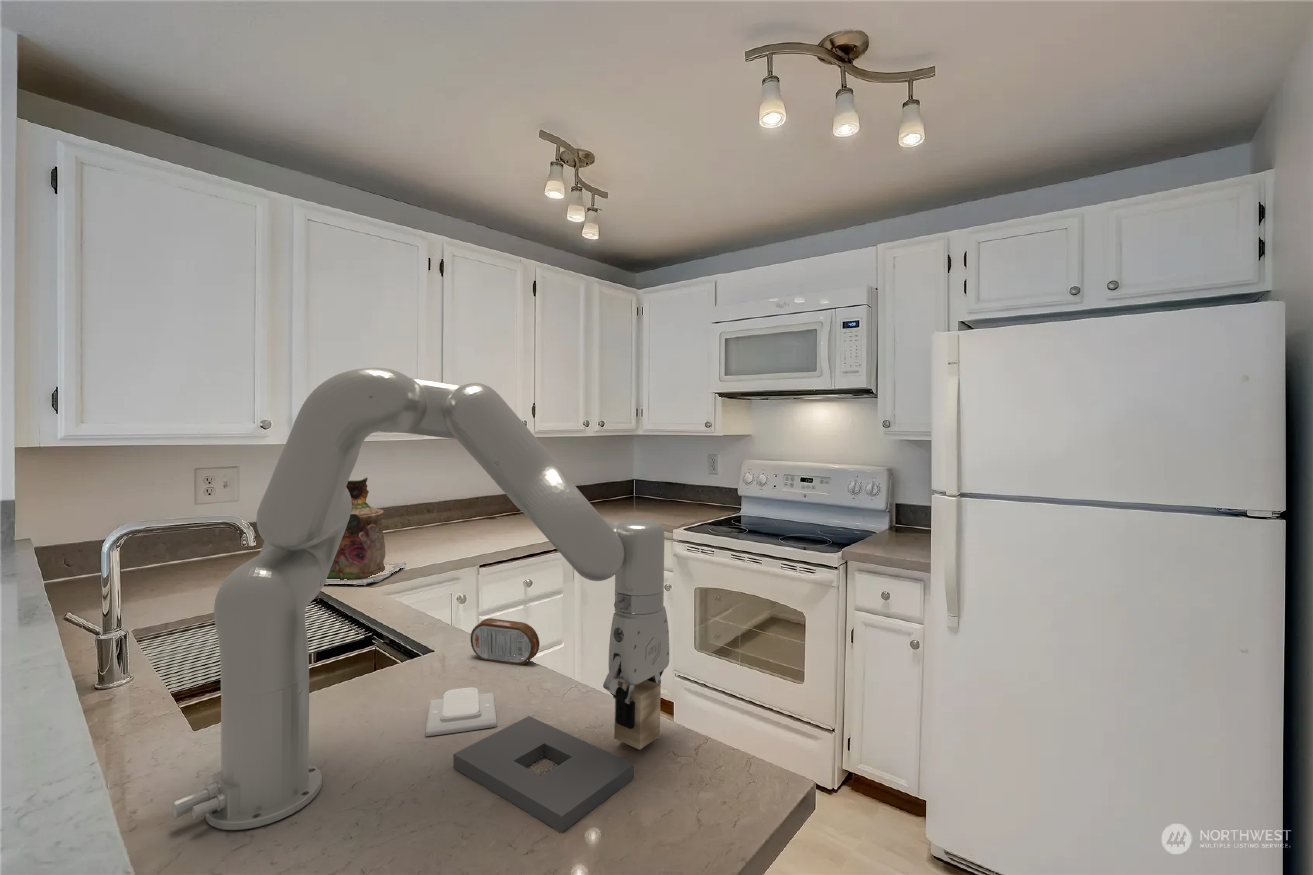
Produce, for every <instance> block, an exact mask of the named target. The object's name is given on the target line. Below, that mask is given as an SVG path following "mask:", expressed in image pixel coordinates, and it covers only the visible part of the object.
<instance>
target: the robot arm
mask: <svg viewBox="0 0 1313 875" xmlns="http://www.w3.org/2000/svg"><path fill="white" fill-rule="evenodd" d="M380 432H381V433H400V434H401V433H402V434H411V435H417V436H426V437H435V438H443V439H454V440H457V441H458V442H459V443H460V444H461V446H463V448H464V449H465V450H466V451H467V452H468V454H470V456H471V457H472V458H473V459H474V460H475V461H476V462H477V463H478V464H479V466H480V467H481V468H482V469H483V470H484V471H485V472H486V474H487V475H488V476H489V477H490V478H491V479H492V480H493V481H494V483H495V484H496V485H497V486H498V487H499V488H500V490H502V492H503V493H504V494H505V495H506V496H507V497H508V498H509V499H510V501H511V502H512V503H513V504H514V506H516V507H517V509H519V510H520V511H521V512H522V513H523V514H524V515H525V516H526V517H528V519H530V521H531V522H532V523H533V524H534V525H535V526H536V527H537V529H538V530H540V532H541V533H542V534H543V535H544V536H545V537H546V539H547V540H548V541H549V542H550V544H551V545H552V546H553V547H555V549H556V551H558V552H559V554H560V555H561V556H562V557H563V558H564V559H565V560H566V562H567V563H568V564H569V565H570V566H571V567H572V568H573V570H574V571H575V572H577V574H579V576H581V577H582V578H584V579H586V580H589V581H590V582H591V581H592V582H603V581H607V580H609V579H610V578H613V577H614V603H613V607H614V613H613V616H612V620H611V626H610V635H609V645H608V673H607V675H606V677H605V680H604V682H603V684H602V688H604V690H605V691H607V692H609V693H610V695H611V696H612V698H613V699H614V700H615V699H616V723H617V724H619V725H621V726H624V727H626V728H629V729H632V728H634V725H635V702H633V701H632V697H633V692H634V687H635V685H638V684H640V683H642V682H643V681H645V680H648V681H651V682H654V683H657V684H660V685H661V684H662V679H661V678H662V675H663V673H664V671H665V670H666V669H667V668H668V666H669V664H670V633H669V632H670V630H669V622H668V615H667V610H666V606H664V602H665V600H664V592H665V591H664V589H665V588H664V586H665V584H664V582H665V528H664V526H663V525H662V523H660V522H658V521H656V520H651V519H627V520H624V521H618V520H617V521H616V520H606V519H604V517H603V516H602V515H601V514H600V513H599V512H598V511H597V509H596V508H595V507H594V506H593V505H592V504H591V503H590V502H589V500H588V499H587V498H586V497H585V496H584V494H582V492H581V491H580V489H579V488H577V486H576V485H575V484H574V483H573V481H571V479H570V478H569V477H568V475H567V473H566V472H565V471H564V469H563V468H562V467H561V465H560V464H559V463H558V462H557V460H555V458H554V457H553V456H552V455H551V453H550V452H549V451H548V450H547V448H546V447H544V445H543V444H542V443H541V442H540V441H539V439H538V438H537V437H536V436H535V435H534V434H533V433H532V431H531V430H530V429H529V428H528V427H527V426H526V424H524V422H523V421H522V419H521V418H520V417H519V416H518V415H517V413H515V411H514V410H513V409H512V408H511V407H510V406H509V404H508V403H507V402H506V401H505V400H504V398H503V397H502V396H501V395H500V394H499V393H498V392H497V391H495V389H493V388H492V387H490V386H488V385H487V384H484V383H481V382H480V383H479V382H472V383H471V382H470V383H466V384H464V385H463V384H462V385H460V384H453V383H445V382H439V381H432V380H426V379H420V378H419V379H418V378H414V377H408V375H405V374H404V373H402V372H400V371H397V370H394V369H391V368H384V367H363V368H357V369H351V370H347V371H344V372H343V371H342V372H340V373H338V374H335V375H333V376H331V377H330V378H327V379H326V380H324V381H323V382H321V384H319V385H318V386H317V387H316V388H315V389H313V391H311V393H310V394H309V395H308V396H307V397H306V399H305V400H304V401H303V404H302V405H301V407H300V408H299V411H298V413H297V415H296V418H295V420H294V422H293V424H292V428H291V430H290V433H289V435H288V437H287V440H286V442H285V445H284V447H283V449H282V451H281V453H280V456H279V457H278V460H277V463H276V466H275V468H274V469H273V473H272V475H271V478H270V481H269V483H268V485H267V488H266V490H265V492H264V494H263V496H262V499H261V501H260V503H259V506H258V508H257V512H256V520H255V521H256V528H257V530H258V533H259V535H260V537H261V539H262V540H263V544H262V546H261V549H260V552H259V554H258V555H256V556H254V557H253V558H251V559H249V560H247V561H245V562H244V563H242V564H241V565H239V566H238V567H236V568H235V569H234V570H233V571H232V572H231V573H230V574H228V575H227V577H226V578H225V579H224V581H223V582H222V583H221V585H220V587H219V588H218V591H217V593H216V596H215V599H214V605H213V614H214V615H213V616H214V617H213V618H214V619H213V620H214V625H215V630H216V631H215V632H216V635H217V640H218V647H219V662H220V663H219V664H220V695H221V696H220V702H221V703H220V771H218V772H215V773H213V774H212V783H209V784H207V785H204V786H203V790H200V791H196V792H195V793H190V794H187V795H185V796H183V797H179V798H177V799H174V800H172V801H171V812H172V816H173V818H174V819H177V818H180V817H182V816H184V815H186V814H189V813H191V816H192V819H193V820H195V819H198V818H200V817H203V816H205V819H206V822H207V823H208V824H209V825H210V826H211V827H213V828H217V829H219V830H226V831H238V830H239V831H240V830H249V829H253V828H259V827H264V826H266V825H270V824H272V823H275V822H278V821H279V820H280V821H281V820H282V819H284V818H286V817H289V816H291V815H293V814H294V813H296V812H298V811H300V810H301V809H302V808H304V807H305V806H307V805H308V804H309V803H310V802H311V801H312V800H313V799H315V798H316V796H317V795H319V792H320V791H321V788H322V785H323V774H322V772H321V770H320V769H319V768H318V767H316V766H315V765H313V764H309V763H310V654H309V653H310V652H309V651H310V650H309V648H310V647H309V638H308V632H307V626H306V609H307V607H308V606H309V605H310V604H311V602H312V601H314V600H315V599H316V597H318V595H319V594H320V593H321V591H322V589H323V588H324V586H325V585H326V584H325V581H326V579H327V576H328V574H329V571H330V569H331V566H332V563H333V561H334V558H335V556H336V553H337V550H338V548H339V545H340V542H341V540H342V537H343V535H344V532H345V529H346V527H347V524H348V521H349V518H350V514H351V509H352V501H351V496H350V493H349V491H348V489H347V488H346V486H347V483H348V481H350V478H351V474H352V473H353V470H354V468H355V467H356V463H357V460H358V459H359V454H360V450H361V448H362V445H363V442H364V441H365V440H366V439H367V437H369V436H370V435H371V434H373V433H380ZM623 683H624V684H627V689H626V692H625V691H624V690H623V688H622V686H623Z"/></svg>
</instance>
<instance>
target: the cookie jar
mask: <svg viewBox="0 0 1313 875" xmlns="http://www.w3.org/2000/svg"><path fill="white" fill-rule="evenodd" d="M368 479H369V478H368V477H363V478H362V479H360V480H353V479H351V480H350V479H349V480H348V483H347V486H346V488H347V489H348V491H349V493H350V496H351V501H352V509H351V514H350V518H349V521H348V524H347V527H346V529H345V532H344V535H343V537H342V540H341V542H340V545H339V548H338V550H337V553H336V556H335V558H334V561H333V563H332V566H331V569H330V571H329V574H328V576H327V579H340V580H326V581H325V583H344V584H345V583H356V584H359V585H364V586H366V585H367V584H370V583H379V582H381V581H382V580H385V579H386V578H388V577H390V576H391V573H392V572H394V571H395V570H396V569H397V568H400V567H402V566H403V565H405V566H406V565H407V561H404V562H393V563H394V564H392V563H388V564H389V565H395V566H393V567H392V568H394V569H393V570H391V571H389V573H387V574H384V575H383V576H378V577H371V578H368V577H370V576H372V575H376V574H378V573H380V572H383V571H384V570H385V566H384V564H385V563H384V562H385V559H386V543H385V536H384V529H383V522H382V519H383V517H384V513H385V511H384V510H383V509H379V508H375V507H373V506H371V505H369V503H367V502H366V501H367V498H368V495H369V493H370V491H369V489H368V484H367V482H368ZM344 579H347V580H344Z"/></svg>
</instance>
